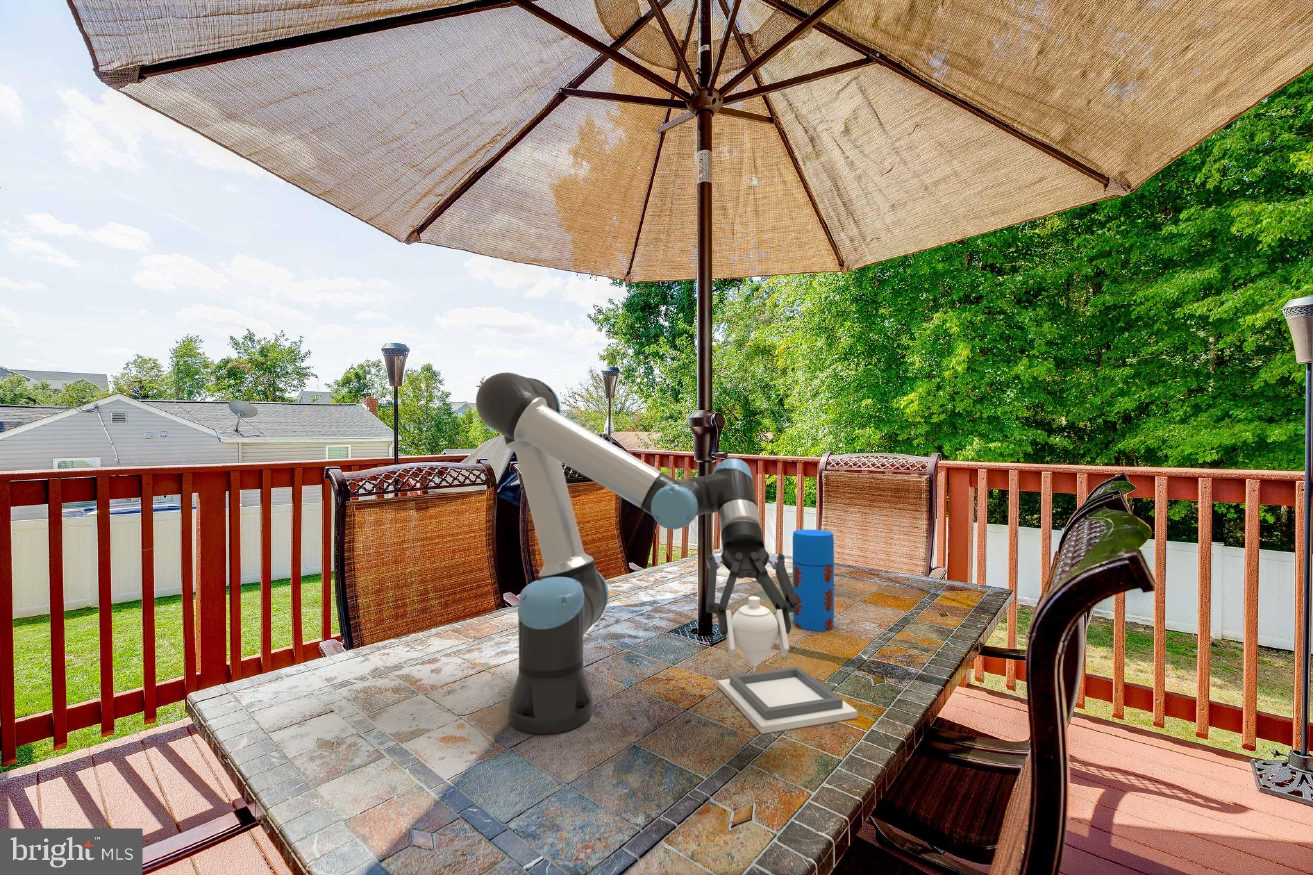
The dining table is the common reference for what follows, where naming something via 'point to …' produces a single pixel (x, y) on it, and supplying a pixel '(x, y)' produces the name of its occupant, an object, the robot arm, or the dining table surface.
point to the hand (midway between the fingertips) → (758, 652)
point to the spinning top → (754, 630)
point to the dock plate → (784, 699)
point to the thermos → (813, 579)
